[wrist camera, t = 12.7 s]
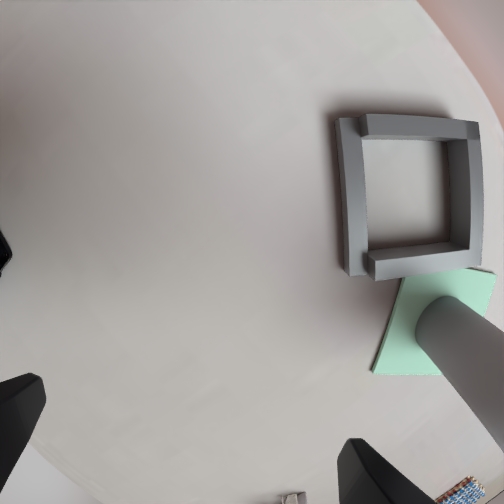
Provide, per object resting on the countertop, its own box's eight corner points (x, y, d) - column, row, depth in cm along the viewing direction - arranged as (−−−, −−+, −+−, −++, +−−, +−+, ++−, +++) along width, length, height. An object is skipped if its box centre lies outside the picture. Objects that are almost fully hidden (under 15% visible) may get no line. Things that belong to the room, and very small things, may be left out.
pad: (371, 371, 22) (373, 374, 21) (408, 256, 20) (410, 257, 19) (457, 371, 22) (459, 373, 22) (494, 273, 20) (497, 275, 20)
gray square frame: (344, 271, 20) (355, 283, 18) (334, 120, 18) (345, 113, 15) (461, 256, 20) (480, 265, 17) (457, 125, 18) (478, 122, 15)
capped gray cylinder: (411, 310, 20) (539, 447, 6) (462, 286, 20) (602, 387, 6) (418, 360, 21) (514, 497, 7) (465, 336, 21) (575, 446, 7)
